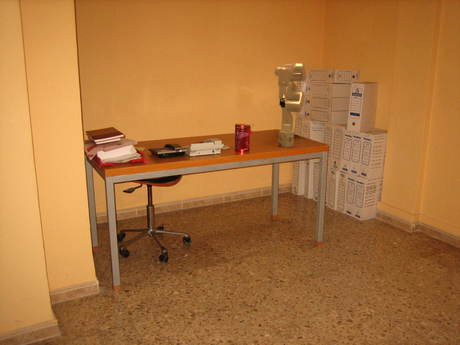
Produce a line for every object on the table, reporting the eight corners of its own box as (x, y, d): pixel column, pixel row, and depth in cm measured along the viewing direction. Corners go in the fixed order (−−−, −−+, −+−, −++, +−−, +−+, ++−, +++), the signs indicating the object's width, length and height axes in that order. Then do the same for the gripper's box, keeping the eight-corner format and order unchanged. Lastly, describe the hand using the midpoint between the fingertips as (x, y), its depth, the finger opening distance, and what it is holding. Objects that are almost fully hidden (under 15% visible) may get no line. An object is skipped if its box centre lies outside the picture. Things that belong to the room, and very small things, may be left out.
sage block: (282, 130, 336) (283, 124, 334) (289, 130, 336) (289, 124, 334) (283, 131, 331) (283, 125, 329) (290, 131, 331) (290, 125, 329)
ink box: (277, 146, 337) (278, 130, 334) (285, 144, 342) (286, 129, 339) (286, 148, 331) (286, 132, 327) (293, 146, 336) (294, 131, 333)
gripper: (277, 83, 343) (276, 104, 348) (279, 85, 326) (278, 108, 332) (286, 83, 343) (285, 104, 348) (289, 85, 326) (288, 108, 332)
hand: (282, 106), depth 340 cm, fingers open, 9 cm apart
